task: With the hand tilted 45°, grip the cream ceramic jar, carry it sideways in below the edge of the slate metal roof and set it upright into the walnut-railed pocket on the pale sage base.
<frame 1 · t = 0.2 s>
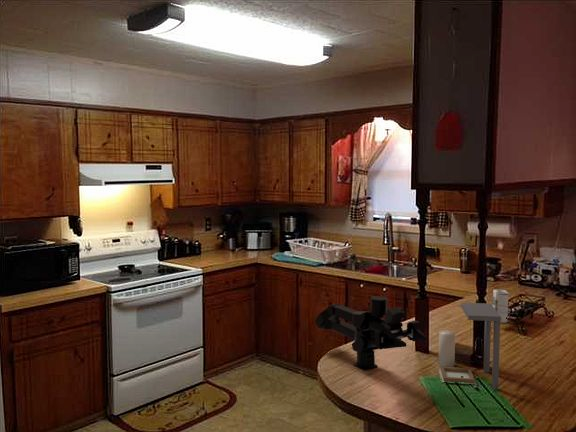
hand: (416, 342, 165), 17 cm above the countertop, tool horizontal, fingers open, 9 cm apart
syrup box: (499, 321, 241), on the countertop
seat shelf: (457, 377, 177), on the countertop
ceramic jar: (446, 364, 189), on the countertop
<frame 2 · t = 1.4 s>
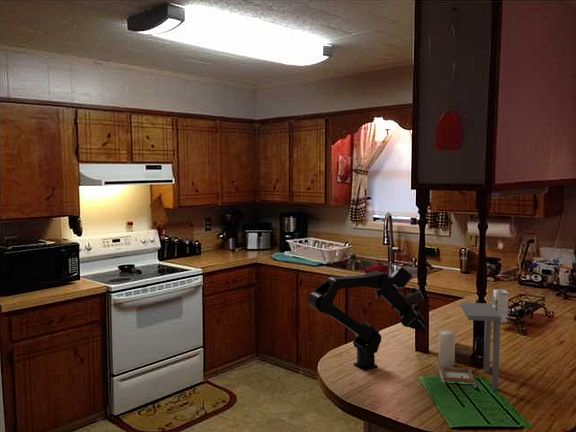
hand: (425, 327, 188), 14 cm above the countertop, tool tilted 45°, fingers open, 9 cm apart
nothing on the countertop moved.
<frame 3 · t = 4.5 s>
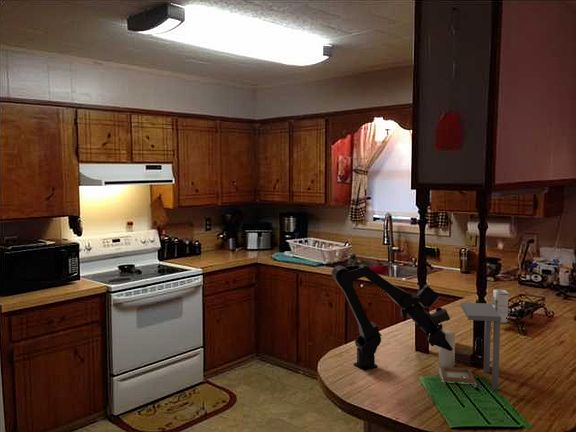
hand: (450, 347, 188), 7 cm above the countertop, tool tilted 45°, fingers closed on ceramic jar, 6 cm apart
ceramic jar: (446, 364, 189), on the countertop, touching gripper
everything else where it was.
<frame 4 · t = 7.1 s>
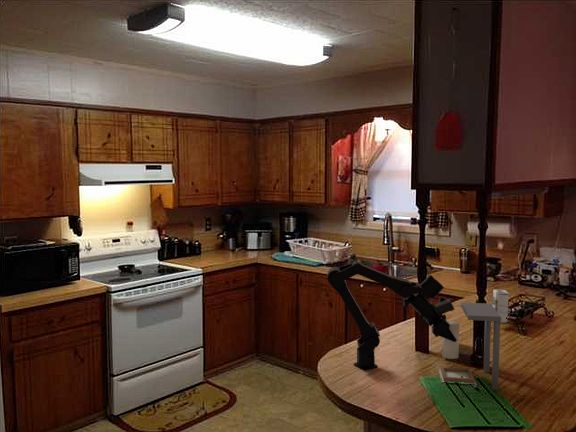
hand: (454, 338, 183), 11 cm above the countertop, tool tilted 45°, fingers closed on ceramic jar, 6 cm apart
ceramic jar: (450, 356, 184), point 5 cm above the countertop, touching gripper
everything else where it was.
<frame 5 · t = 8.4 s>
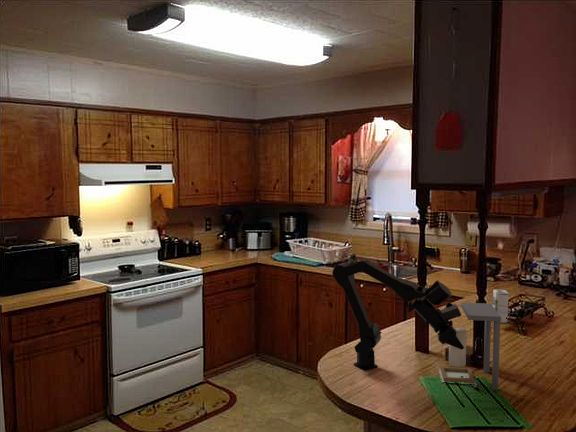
hand: (461, 345, 176), 11 cm above the countertop, tool tilted 45°, fingers closed on ceramic jar, 6 cm apart
ceramic jar: (457, 363, 177), point 5 cm above the countertop, touching gripper
everything else where it was.
when the fingers open (8 cm above the countertop, at t = 9.7 s): ceramic jar stays where it is, resting on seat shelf.
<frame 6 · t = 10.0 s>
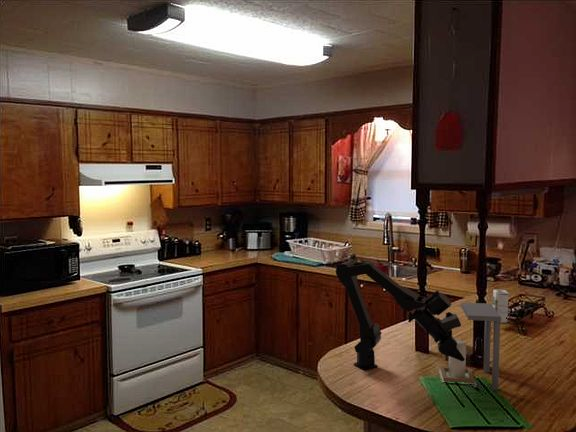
hand: (461, 355, 176), 8 cm above the countertop, tool tilted 45°, fingers open, 9 cm apart
ceramic jar: (456, 376, 177), point 1 cm above the countertop, touching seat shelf
everything else where it was.
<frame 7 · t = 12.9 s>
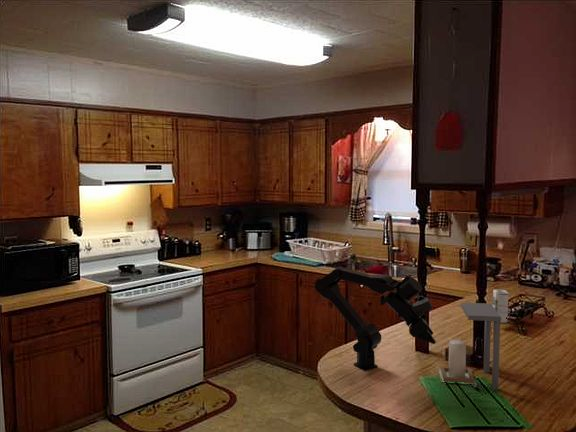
hand: (433, 338, 177), 14 cm above the countertop, tool tilted 45°, fingers open, 9 cm apart
nothing on the countertop moved.
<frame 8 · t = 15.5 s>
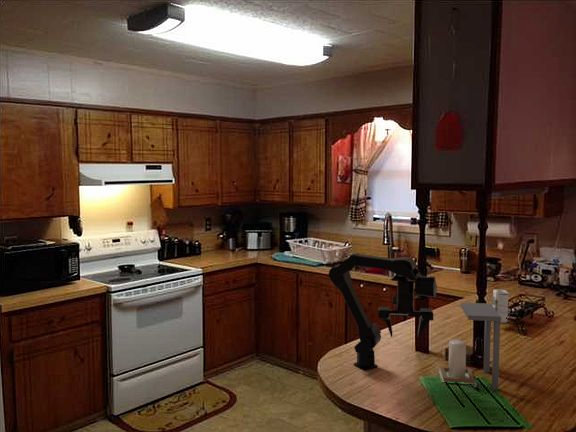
hand: (405, 337, 180), 13 cm above the countertop, tool pointing down, fingers open, 9 cm apart
nothing on the countertop moved.
at the end: ceramic jar 0.1 cm off-centre on the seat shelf, point 0.5 cm above the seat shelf's base; ceramic jar tilted 0°; the gripper is holding nothing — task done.
